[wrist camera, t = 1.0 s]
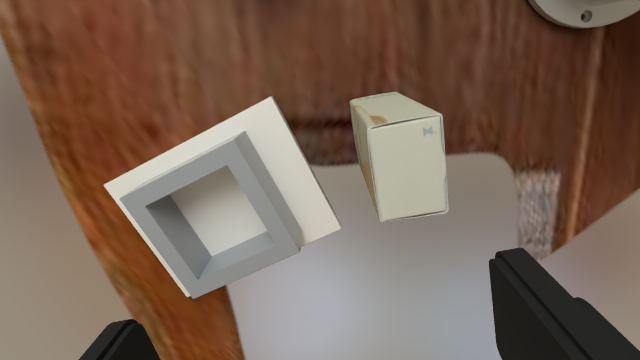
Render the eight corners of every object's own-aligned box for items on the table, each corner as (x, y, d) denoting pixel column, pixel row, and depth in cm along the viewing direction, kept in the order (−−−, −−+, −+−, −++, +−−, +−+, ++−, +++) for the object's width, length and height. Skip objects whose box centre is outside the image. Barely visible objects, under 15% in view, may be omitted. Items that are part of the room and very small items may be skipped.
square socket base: (272, 95, 30) (263, 101, 25) (341, 224, 34) (343, 249, 29) (109, 181, 33) (73, 201, 28) (190, 291, 37) (170, 324, 32)
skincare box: (348, 99, 30) (363, 121, 19) (397, 90, 30) (443, 106, 18) (358, 168, 32) (378, 226, 21) (404, 160, 32) (451, 214, 20)
